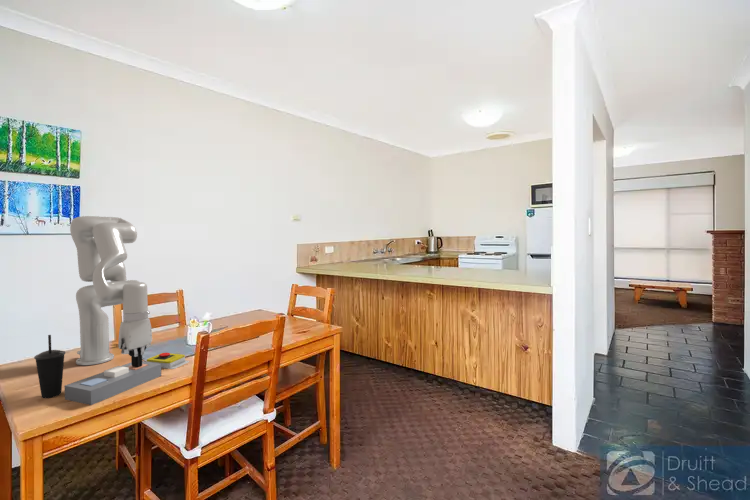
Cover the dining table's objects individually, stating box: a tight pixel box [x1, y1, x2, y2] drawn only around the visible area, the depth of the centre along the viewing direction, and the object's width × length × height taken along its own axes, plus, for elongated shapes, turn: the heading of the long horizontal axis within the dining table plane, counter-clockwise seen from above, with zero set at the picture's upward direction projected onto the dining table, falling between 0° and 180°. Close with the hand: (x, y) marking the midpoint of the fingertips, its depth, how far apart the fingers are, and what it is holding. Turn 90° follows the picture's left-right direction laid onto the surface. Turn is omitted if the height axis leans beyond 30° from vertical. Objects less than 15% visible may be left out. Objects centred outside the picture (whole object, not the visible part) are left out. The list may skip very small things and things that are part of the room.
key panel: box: [63, 360, 162, 406], centre depth 127 cm, size 12×25×4 cm, turn 162°
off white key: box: [103, 365, 129, 378], centre depth 127 cm, size 5×5×3 cm
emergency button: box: [146, 352, 190, 370], centre depth 150 cm, size 9×4×15 cm
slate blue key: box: [81, 378, 107, 387], centre depth 120 cm, size 5×5×3 cm
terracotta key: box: [128, 364, 148, 370], centre depth 134 cm, size 5×5×3 cm
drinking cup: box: [33, 334, 66, 399], centre depth 120 cm, size 8×8×20 cm
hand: (137, 366), depth 134 cm, fingers closed
